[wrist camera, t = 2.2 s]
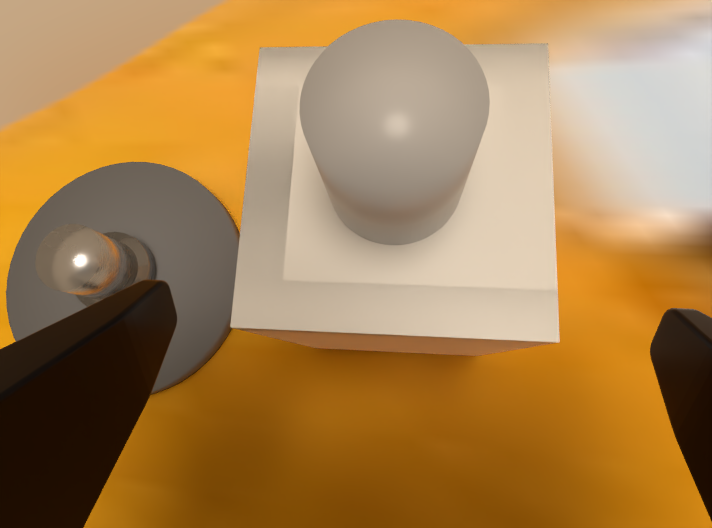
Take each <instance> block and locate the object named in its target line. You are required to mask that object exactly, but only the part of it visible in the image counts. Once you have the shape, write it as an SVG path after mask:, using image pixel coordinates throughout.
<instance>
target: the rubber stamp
mask: <svg viewBox="0 0 712 528" xmlns="http://www.w3.org/2000/svg"><path fill="white" fill-rule="evenodd" d="M230 327H231V328H235V329H239V330H243V331H247V332H251V333H255V334H259V335H263V336H268V337H272V338H276V339H280V340H284V341H288V342H292V343H296V344H300V345H304V346H309V347H313V348H322V349H342V350H362V351H383V352H403V353H424V354H444V355H465V356H480V355H486V354H492V353H498V352H504V351H510V350H516V349H522V348H528V347H534V346H540V345H546V344H552V343H559V342H560V340H559V315H558V289H557V263H556V237H555V211H554V185H553V159H552V133H551V107H550V81H549V55H548V43H547V44H476V45H464V44H463V43H462V42H460V41H459V40H458V39H456V38H455V37H454V36H452V35H451V34H449V33H447V32H445V31H444V30H442V29H439V28H437V27H435V26H432V25H429V24H425V23H422V22H417V21H410V20H385V21H379V22H374V23H370V24H367V25H364V26H361V27H358V28H356V29H354V30H352V31H349V32H348V33H346V34H344V35H343V36H341V37H339V38H338V39H337V40H335V41H334V42H333V43H331V44H330V45H329V46H328V47H265V48H260V51H259V60H258V70H257V79H256V89H255V98H254V108H253V117H252V126H251V136H250V145H249V155H248V164H247V174H246V183H245V192H244V202H243V211H242V221H241V230H240V239H239V249H238V258H237V268H236V277H235V287H234V296H233V305H232V315H231V324H230Z"/></svg>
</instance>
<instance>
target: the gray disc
mask: <svg viewBox="0 0 712 528" xmlns="http://www.w3.org/2000/svg"><path fill="white" fill-rule="evenodd" d="M67 224H80V225H83V226H86V227H88V228H90V229H92V230H95V231H97V232H99V233H101V234H103V233H107V232H121V233H125V234H128V235H130V236H132V237H134V238H136V239H138V240H140V241H141V242H143V243H144V244H145V245H146V246H147V247H148V248H149V250H150V251H151V253H152V255H153V258H154V262H155V277H154V280H164V281H166V282H167V283H168V285H169V287H170V290H171V294H172V297H173V301H174V305H175V308H176V312H177V325H176V329H175V331H174V334H173V337H172V339H171V342H170V345H169V347H168V350H167V353H166V355H165V358H164V361H163V363H162V366H161V369H160V371H159V374H158V377H157V379H156V382H155V384H154V387H153V389H152V392H151V394H154V393H157V392H160V391H163V390H165V389H168V388H170V387H172V386H174V385H176V384H178V383H180V382H182V381H183V380H185V379H186V378H188V377H189V376H191V375H192V374H193V373H195V372H196V371H197V370H198V369H200V368H201V367H202V366H203V365H204V364H205V363H206V362H207V361H208V360H209V359H210V358H211V357H212V356H213V355H214V354H215V353H216V351H217V350H218V349H219V348H220V346H221V345H222V343H223V342H224V340H225V339H226V338H227V336H228V334H229V332H230V330H231V329H232V328H231V327H230V324H231V315H232V305H233V296H234V287H235V277H236V268H237V258H238V249H239V239H240V233H239V231H238V229H237V227H236V225H235V222H234V220H233V219H232V217H231V216H230V214H229V213H228V211H227V209H226V208H225V207H224V206H223V205H222V204H221V202H220V201H219V200H218V199H217V198H216V197H215V196H214V195H213V194H212V193H211V192H210V191H208V190H207V189H206V188H205V187H204V186H203V185H201V184H200V183H199V182H198V181H197V180H195V179H193V178H192V177H190V176H189V175H187V174H185V173H183V172H181V171H178V170H176V169H174V168H171V167H167V166H164V165H161V164H154V163H148V162H127V163H119V164H114V165H109V166H105V167H102V168H99V169H96V170H94V171H91V172H88V173H86V174H84V175H82V176H80V177H78V178H77V179H75V180H73V181H72V182H70V183H69V184H67V185H66V186H64V187H63V188H61V189H60V190H59V191H58V192H57V193H55V194H54V195H53V196H52V197H51V198H50V199H49V200H48V201H47V202H46V203H45V204H44V205H43V206H42V207H41V208H40V209H39V210H38V212H37V213H36V214H35V216H34V217H33V218H32V219H31V221H30V222H29V224H28V226H27V227H26V229H25V230H24V232H23V234H22V236H21V238H20V240H19V242H18V244H17V246H16V249H15V252H14V255H13V258H12V261H11V264H10V269H9V274H8V279H7V290H6V299H7V312H8V318H9V323H10V327H11V330H12V333H13V336H14V338H15V341H18V340H21V339H23V338H25V337H27V336H29V335H31V334H33V333H35V332H37V331H39V330H41V329H43V328H45V327H47V326H49V325H51V324H53V323H55V322H57V321H60V320H62V319H64V318H66V317H68V316H70V315H72V314H74V313H76V312H78V311H80V310H82V309H84V308H86V307H87V306H86V305H84V304H83V303H82V302H81V301H80V300H79V299H78V298H77V296H76V295H75V294H71V293H67V292H63V291H58V290H54V289H51V288H50V287H48V286H46V285H45V284H44V283H43V282H42V281H41V279H40V278H39V276H38V274H37V271H36V265H35V260H36V254H37V251H38V248H39V246H40V244H41V242H42V241H43V239H44V238H45V237H46V236H47V235H48V234H49V233H50V232H51V231H53V230H54V229H56V228H58V227H60V226H63V225H67ZM151 394H150V395H151Z"/></svg>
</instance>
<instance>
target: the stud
mask: <svg viewBox="0 0 712 528" xmlns="http://www.w3.org/2000/svg"><path fill="white" fill-rule="evenodd" d="M35 265H36V271H37V274H38V276H39V278H40V279H41V281H42V282H43V283H44V284H45V285H46V286H48V287H50V288H51V289H54V290H58V291H63V292H67V293H71V294H75V295H76V296H77V298H78V299H79V300H80V301H81V302H82V303H83V304H84V305H86V306H87V307H88V306H90V305H92V304H94V303H96V302H99V301H101V300H103V299H105V298H107V297H109V296H111V295H113V294H115V293H117V292H119V291H121V290H123V289H125V288H127V287H129V286H131V285H133V284H135V283H138V282H140V281H142V280H145V279H151V280H154V277H155V262H154V258H153V255H152V253H151V251H150V250H149V248H148V247H147V246H146V245H145V244H144V243H143V242H141V241H140V240H138V239H136V238H134V237H132V236H130V235H128V234H125V233H121V232H107V233H103V234H101V233H99V232H97V231H95V230H92V229H90V228H88V227H86V226H83V225H80V224H67V225H63V226H60V227H58V228H56V229H54V230H53V231H51V232H50V233H49V234H48V235H47V236H46V237H45V238H44V239H43V241H42V242H41V244H40V246H39V248H38V251H37V254H36V260H35Z"/></svg>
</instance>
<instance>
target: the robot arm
mask: <svg viewBox="0 0 712 528" xmlns="http://www.w3.org/2000/svg"><path fill="white" fill-rule="evenodd" d="M176 325H177V312H176V308H175V305H174V301H173V297H172V294H171V290H170V287H169V285H168V283H167V282H166V281H164V280H151V279H145V280H142V281H140V282H138V283H135V284H133V285H131V286H129V287H127V288H125V289H123V290H121V291H119V292H117V293H115V294H113V295H111V296H109V297H107V298H105V299H103V300H101V301H99V302H96V303H94V304H92V305H90V306H88V307H86V308H84V309H82V310H80V311H78V312H76V313H74V314H72V315H70V316H68V317H66V318H64V319H62V320H60V321H57V322H55V323H53V324H51V325H49V326H47V327H45V328H43V329H41V330H39V331H37V332H35V333H33V334H31V335H29V336H27V337H25V338H23V339H21V340H18V341H16V342H14V343H12V344H10V345H8V346H6V347H4V348H2V349H0V528H83V527H84V525H85V523H86V521H87V519H88V517H89V515H90V513H91V511H92V509H93V507H94V505H95V503H96V501H97V499H98V497H99V495H100V493H101V491H102V489H103V487H104V485H105V484H106V482H107V480H108V478H109V476H110V474H111V472H112V470H113V468H114V466H115V464H116V462H117V460H118V458H119V456H120V454H121V452H122V450H123V448H124V446H125V444H126V442H127V440H128V438H129V436H130V434H131V432H132V430H133V428H134V426H135V424H136V422H137V420H138V419H139V417H140V415H141V413H142V411H143V409H144V407H145V405H146V403H147V400H148V398H149V396H150V394H151V392H152V389H153V387H154V384H155V382H156V379H157V377H158V374H159V371H160V369H161V366H162V363H163V361H164V358H165V355H166V353H167V350H168V347H169V345H170V342H171V339H172V337H173V334H174V331H175V329H176ZM650 355H651V360H652V363H653V366H654V370H655V373H656V376H657V380H658V383H659V386H660V389H661V393H662V396H663V399H664V403H665V406H666V409H667V413H668V416H669V419H670V422H671V425H672V428H673V431H674V434H675V437H676V439H677V442H678V444H679V447H680V449H681V452H682V454H683V456H684V459H685V461H686V463H687V465H688V468H689V470H690V472H691V475H692V477H693V479H694V482H695V484H696V486H697V489H698V491H699V493H700V495H701V498H702V500H703V502H704V505H705V507H706V509H707V512H708V514H709V516H710V519H711V521H712V318H710V317H709V316H707V315H705V314H703V313H701V312H700V311H697V310H694V309H680V308H671V309H669V310H667V311H666V312H665V313H664V315H663V317H662V319H661V322H660V324H659V326H658V329H657V331H656V333H655V336H654V338H653V340H652V343H651V347H650Z"/></svg>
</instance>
